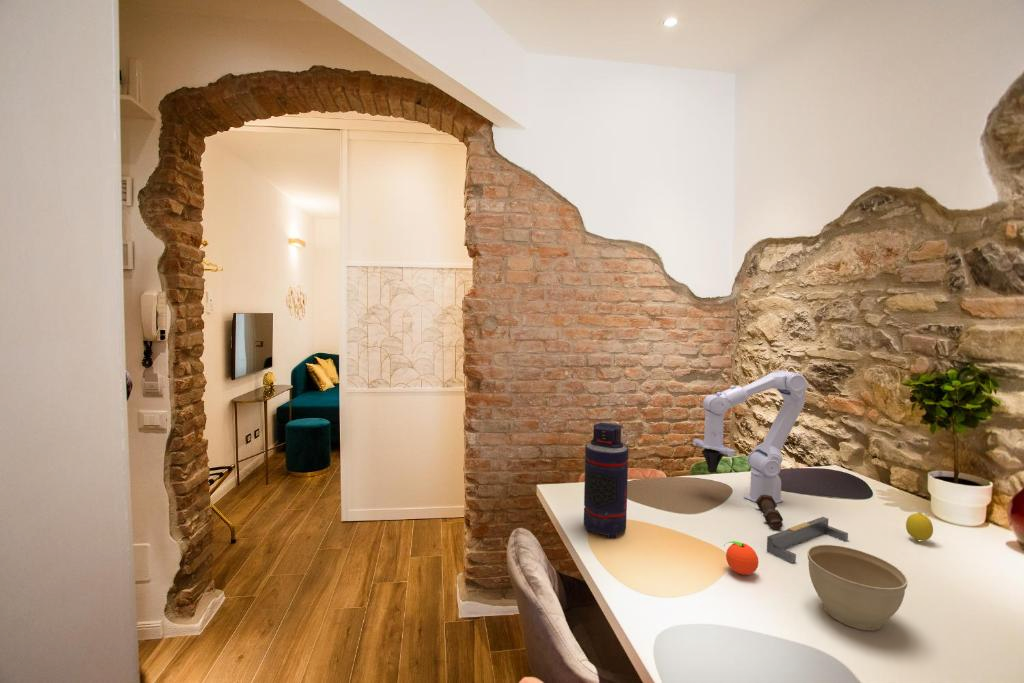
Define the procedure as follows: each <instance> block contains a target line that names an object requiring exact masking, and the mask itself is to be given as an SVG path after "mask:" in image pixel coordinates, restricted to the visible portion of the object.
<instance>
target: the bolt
mask: <svg viewBox="0 0 1024 683" xmlns="http://www.w3.org/2000/svg"><path fill="white" fill-rule="evenodd" d="M755 503H756V505H757V507H758V509H759V511H761V512H764V513H763V518H764V519H765V521H766V523H767V525H769V526H770V527H771V528H773V529H774V530H779V529H781V528H783V525H784V524H783V521H784V519H783V517H782V515H781V513H780V511H779V510H778V509H776V508H777V507H778V505H777V503H775V501H774V499H773V497H772V496H770V495H760V496H759V498H758V499H757V500H756V502H755Z"/></svg>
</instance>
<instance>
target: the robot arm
mask: <svg viewBox="0 0 1024 683" xmlns="http://www.w3.org/2000/svg"><path fill="white" fill-rule="evenodd" d="M808 387H809V384H808V382H807V380H806V378H805V376H804V375H803V374H802V373H798V372H791V371H786V370H784V369H778V370H776V371H773V372H770V373H768V374H767V375H765V376H763V377H761V378H758V379H757V380H754V381H753V382H750V383H748V384H747V385H744V386H740V385H734V384H733V385H730V386H729V388H728V389H725V390H723V391H717V392H716V394H708V395H707V396H705V398H704V399H703V402H702V404H701V405H702V407H703V409H704V410H705V411H704V412H705V413H704V431H703V433H704V435H703V436H704V437H703V440H702V439H700V438H695V439H692V440H693V442H692V446H695V447H696V446H698V447H699V448H703V449H702V450H701V453H702V455H703V457H704V459H705V462H706V466H707V470H708V472H709V473H712V474H713V473H716V472H717V470H718V466H719V464H720V462H721V460H722V458H723V457H724V456H725V455H726V456H728V457H731V458H733V457H735V455H736V450H735V449H732V448H729V447H728V446H726V445H724V427H725V426H724V425H725V424H724V423H725V422H724V421H725V414H726V413H727V412H728V410H729V409H730V408H733V407H735V406H738V405H740V404H743V403H745V402H747V400H748V398H749V397H751V396H754V395H756V394H759V393H761V392H764V391H767V390H770V389H775V390H777V391H778V393H780V395H781V397H782V400H783V403H782V405H781V407H780V409H779V410H778V413H777V414H776V416H775V419H774V421H773V423H772V424H771V426H770V429H769V430H768V432H767V434H766V436H765V438H764V440H763V442H762V443H760V444H757V445H756V446H755V447H754V449H753V450H752V451H751V452H750V453H749V454H748V455H747V457H746V458H747V463H748V465H749V467H750V485H749V486H750V487H749V488H750V489H749V490H750V491H749V494H747V495H744V496H743V498H745V499H747V500H748V501H752V502H754V503H756V500H757V499H758V498H759V496H760V495H770V496H772V497H773V499H774V501H775V503H776V504H778V503H781V502H784V499H782V494H781V493H782V480H781V477H780V476H779V474H780V472H781V469H782V468H781V467H782V462H783V460H784V458H783V455H782V453H781V452H782V451H781V450H782V448H783V447H784V446H785V443H786V441H787V439H788V437H789V435H790V433H791V432H792V429H793V428H794V425H795V423H796V422H797V420H798V418H799V416H800V414H801V412H802V410H803V408H804V406H805V403H806V391H807V389H808Z"/></svg>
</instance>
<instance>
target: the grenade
mask: <svg viewBox="0 0 1024 683" xmlns="http://www.w3.org/2000/svg"><path fill="white" fill-rule="evenodd" d="M622 427H623V425H622V424H616V423H609V422H602V421H601V422H599V423H596V424H594V425H593V437H592V439H591V440H590V441H589V442H587V443H586V444H585V448H584V449H585V450H584V454H585V455H584V457H585V458H584V488H583V489H584V490H583V491H584V492H583V493H584V495H583V496H584V497H583V526H584V527H585V530H586V531H587V533H590V532H593V533H596V534H600V535H606V536H607V537H608V539H616V538H617V535H620V534H622V533H624V532H625V531H626V529H627V511H628V509H627V507H628V479H629V478H628V475H629V462H628V461H629V447H628V444H629V436H628V432H627V431H626V430H625V429H622ZM623 433H625V435H626V442H625V441H624V437H623Z"/></svg>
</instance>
